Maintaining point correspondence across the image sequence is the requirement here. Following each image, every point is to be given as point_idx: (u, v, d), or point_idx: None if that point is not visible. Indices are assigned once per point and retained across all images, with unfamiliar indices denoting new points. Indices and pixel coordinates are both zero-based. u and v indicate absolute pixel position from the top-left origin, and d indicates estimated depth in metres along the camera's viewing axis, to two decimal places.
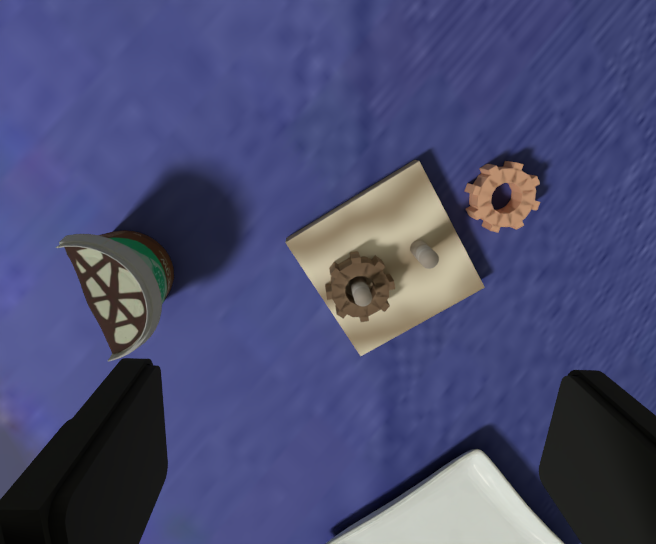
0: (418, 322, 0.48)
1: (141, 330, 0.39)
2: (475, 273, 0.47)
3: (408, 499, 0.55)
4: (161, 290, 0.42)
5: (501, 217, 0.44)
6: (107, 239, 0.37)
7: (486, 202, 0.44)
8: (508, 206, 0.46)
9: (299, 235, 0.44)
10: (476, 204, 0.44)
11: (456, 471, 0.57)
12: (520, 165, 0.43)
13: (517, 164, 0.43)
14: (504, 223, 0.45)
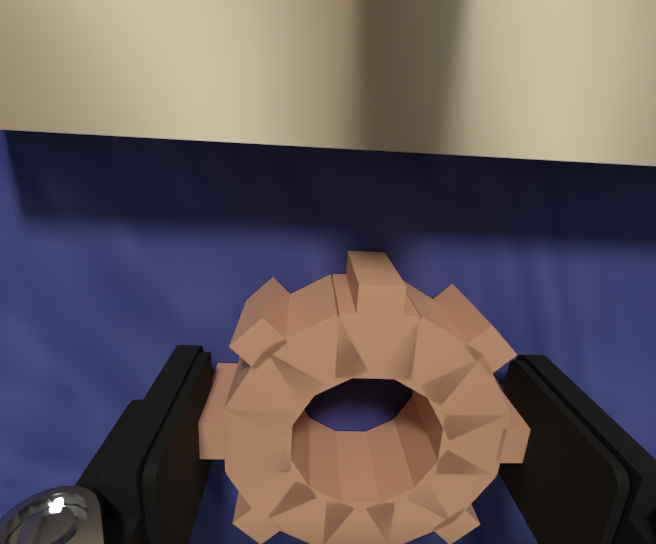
0: None
1: None
2: (44, 120, 0.07)
3: None
4: None
5: (295, 389, 0.09)
6: None
7: (410, 362, 0.08)
8: None
9: None
10: (425, 315, 0.08)
11: None
12: (458, 534, 0.10)
13: (467, 527, 0.10)
14: (257, 390, 0.09)
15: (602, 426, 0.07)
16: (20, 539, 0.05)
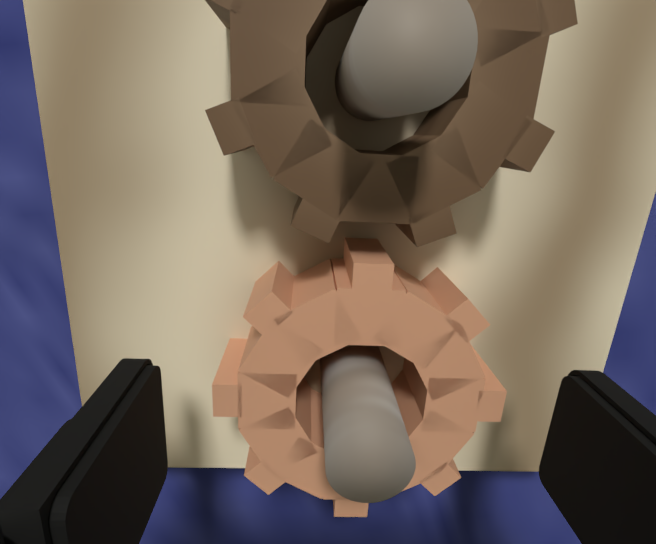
0: (60, 208, 0.11)
1: None
2: None
3: None
4: None
5: (299, 355, 0.10)
6: None
7: (398, 331, 0.10)
8: None
9: None
10: (411, 290, 0.10)
11: None
12: (442, 486, 0.11)
13: (450, 480, 0.11)
14: (266, 355, 0.10)
15: None
16: None
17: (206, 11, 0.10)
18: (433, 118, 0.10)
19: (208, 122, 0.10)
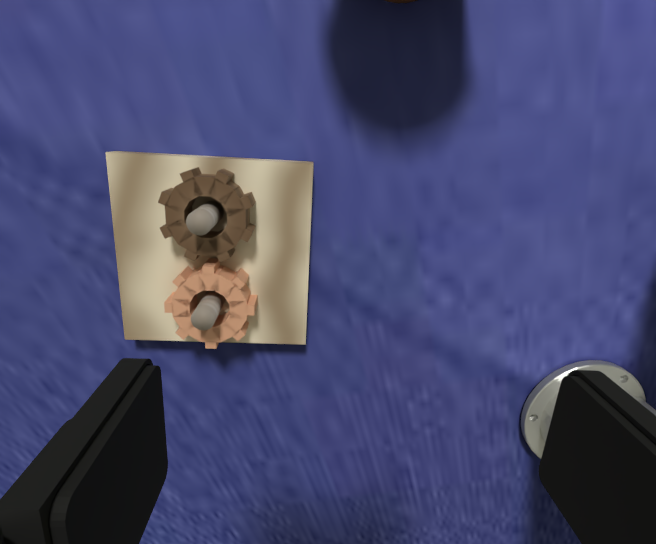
0: (117, 249, 0.35)
1: None
2: (148, 338, 0.38)
3: None
4: None
5: (189, 293, 0.34)
6: None
7: (217, 286, 0.34)
8: (195, 304, 0.36)
9: (310, 184, 0.34)
10: (221, 274, 0.34)
11: None
12: (239, 338, 0.35)
13: (241, 335, 0.35)
14: (179, 293, 0.34)
15: None
16: None
17: None
18: None
19: (163, 223, 0.34)
